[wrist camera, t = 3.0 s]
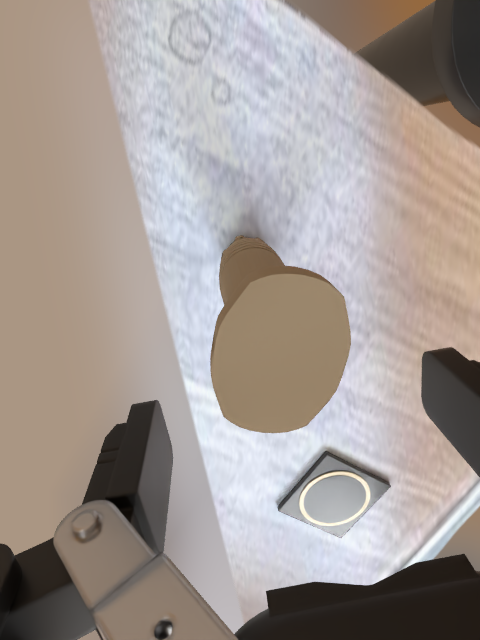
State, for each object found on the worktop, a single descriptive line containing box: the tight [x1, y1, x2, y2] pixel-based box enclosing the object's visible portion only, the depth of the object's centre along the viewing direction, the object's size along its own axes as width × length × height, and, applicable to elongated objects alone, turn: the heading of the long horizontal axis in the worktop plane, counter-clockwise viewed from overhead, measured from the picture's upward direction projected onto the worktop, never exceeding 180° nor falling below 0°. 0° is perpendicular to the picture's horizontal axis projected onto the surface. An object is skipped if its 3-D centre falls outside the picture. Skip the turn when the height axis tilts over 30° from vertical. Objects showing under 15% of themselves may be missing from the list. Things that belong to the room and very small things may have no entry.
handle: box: [211, 235, 351, 433], centre depth 21 cm, size 5×6×15 cm
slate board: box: [278, 451, 391, 538], centre depth 37 cm, size 8×8×1 cm
